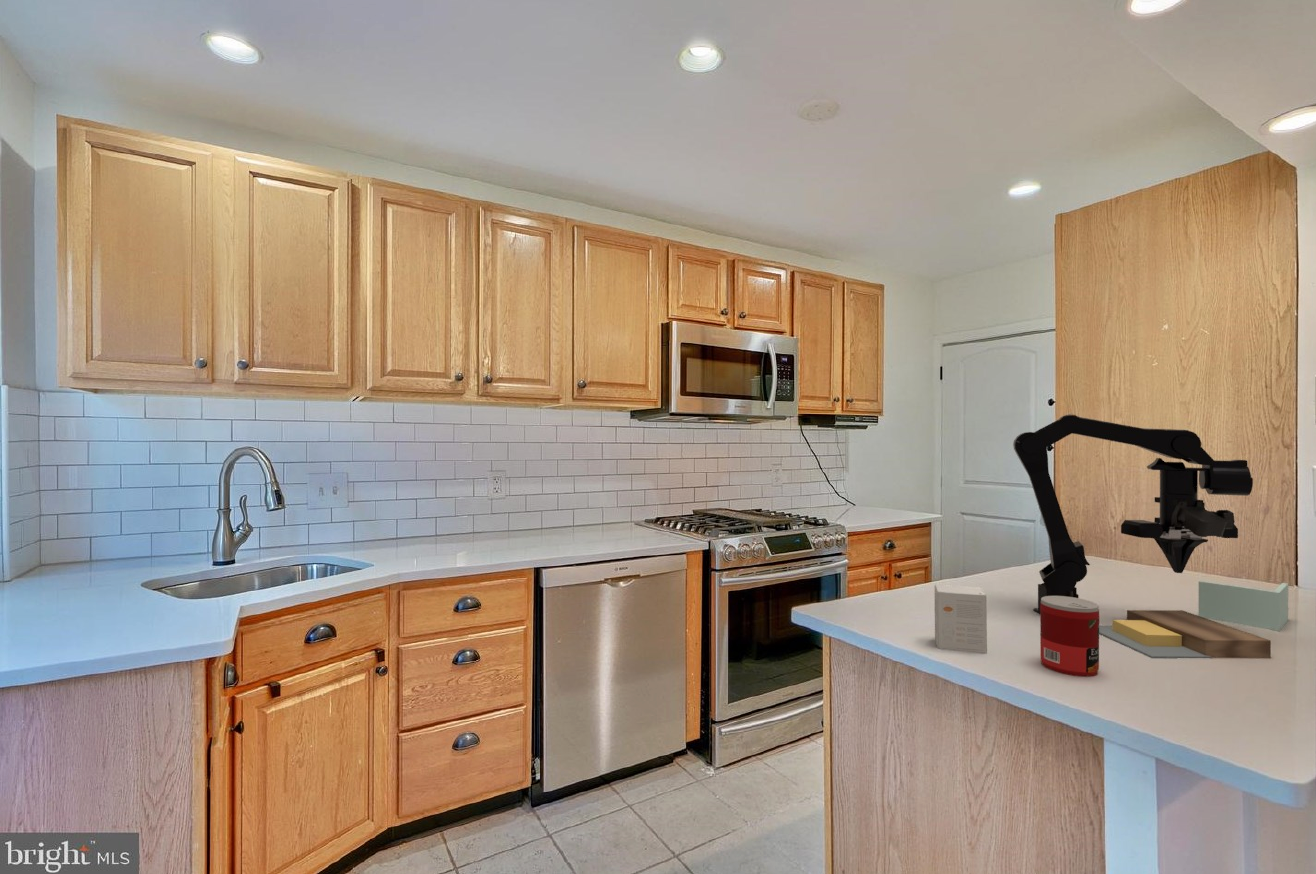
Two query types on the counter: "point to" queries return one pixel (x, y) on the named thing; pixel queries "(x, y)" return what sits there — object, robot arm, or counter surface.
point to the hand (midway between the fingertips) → (1178, 572)
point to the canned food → (1069, 635)
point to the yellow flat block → (1147, 633)
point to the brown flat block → (1206, 634)
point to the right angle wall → (1244, 605)
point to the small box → (961, 618)
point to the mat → (1150, 650)
